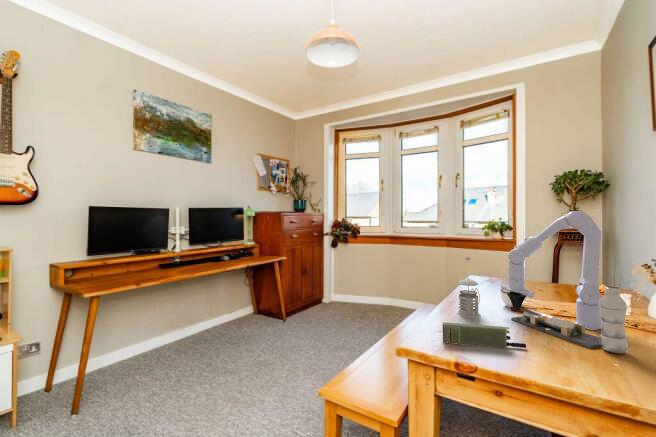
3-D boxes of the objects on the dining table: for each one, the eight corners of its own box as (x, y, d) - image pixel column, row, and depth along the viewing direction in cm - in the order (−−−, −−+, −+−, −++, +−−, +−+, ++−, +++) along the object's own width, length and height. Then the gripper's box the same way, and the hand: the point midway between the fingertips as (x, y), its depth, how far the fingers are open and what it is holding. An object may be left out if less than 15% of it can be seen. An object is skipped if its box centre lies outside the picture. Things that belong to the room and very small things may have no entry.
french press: (472, 310, 144) (471, 255, 144) (489, 318, 132) (488, 258, 132) (452, 311, 142) (451, 255, 142) (467, 320, 131) (466, 259, 131)
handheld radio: (442, 340, 111) (524, 347, 103) (443, 344, 108) (527, 352, 100) (442, 321, 111) (524, 327, 103) (442, 324, 107) (527, 331, 100)
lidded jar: (518, 303, 154) (517, 283, 154) (532, 309, 144) (532, 288, 144) (496, 303, 154) (495, 284, 154) (509, 310, 143) (509, 289, 143)
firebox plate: (530, 317, 133) (530, 307, 133) (612, 345, 104) (612, 332, 104) (511, 320, 130) (511, 310, 130) (590, 349, 101) (590, 336, 101)
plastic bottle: (631, 358, 94) (630, 290, 94) (601, 353, 98) (600, 288, 98) (625, 350, 100) (624, 286, 100) (597, 345, 103) (596, 284, 103)
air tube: (523, 319, 128) (523, 309, 128) (531, 317, 129) (531, 307, 129) (568, 335, 110) (568, 323, 110) (577, 333, 112) (576, 321, 111)
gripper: (495, 275, 139) (495, 306, 139) (524, 282, 125) (524, 316, 125) (508, 274, 141) (508, 305, 141) (538, 280, 127) (538, 314, 127)
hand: (516, 310), depth 133 cm, fingers closed
